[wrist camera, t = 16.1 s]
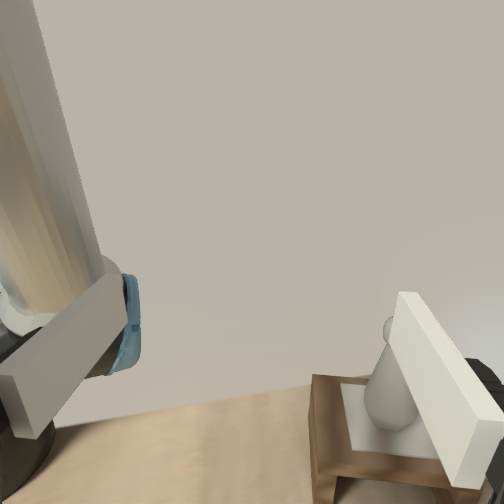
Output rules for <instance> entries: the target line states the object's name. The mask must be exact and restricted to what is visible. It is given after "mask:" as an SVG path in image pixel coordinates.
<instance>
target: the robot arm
mask: <svg viewBox="0 0 504 504" xmlns="http://www.w3.org/2000/svg"><path fill="white" fill-rule="evenodd" d="M0 282H1V284H2V286H3V289H2V291H1V292H0V504H2V500H3V499H5V498H6V497H7V496H9V495H10V494H11V493H13V492H14V491H15V490H16V489H18V488H19V487H20V486H21V485H22V484H23V483H24V482H25V481H26V480H27V479H28V478H29V477H30V476H31V475H32V474H33V473H34V472H35V471H36V470H37V468H38V467H39V466H40V465H41V463H42V462H43V460H44V459H45V457H46V456H47V454H48V452H49V450H50V448H51V446H52V443H53V440H54V435H55V426H54V422H53V417H54V416H55V415H56V414H57V412H58V411H59V410H60V409H61V407H62V406H63V405H64V403H65V402H66V401H67V400H68V398H69V397H70V396H71V394H72V393H73V392H74V391H75V389H76V388H77V387H78V386H79V384H80V383H81V382H82V380H83V379H86V378H91V377H95V376H100V375H104V376H108V375H111V374H112V373H113V372H117V371H120V370H124V369H127V368H130V367H132V366H134V364H136V363H137V361H138V359H139V357H140V351H141V328H140V301H139V290H138V283H137V279H136V277H135V276H133V275H127V274H124V273H123V274H121V272H120V270H119V268H118V267H117V265H116V264H115V263H114V262H113V261H111V260H110V259H108V258H107V257H105V256H103V255H101V253H100V249H99V246H98V242H97V238H96V234H95V231H94V227H93V224H92V220H91V217H90V212H89V208H88V205H87V201H86V197H85V194H84V190H83V186H82V183H81V179H80V175H79V171H78V168H77V164H76V160H75V157H74V153H73V149H72V145H71V142H70V138H69V134H68V131H67V127H66V124H65V120H64V116H63V112H62V108H61V105H60V101H59V97H58V94H57V90H56V87H55V83H54V79H53V75H52V71H51V68H50V64H49V60H48V56H47V53H46V49H45V46H44V42H43V38H42V34H41V31H40V27H39V23H38V19H37V16H36V12H35V8H34V5H33V1H32V0H0ZM389 344H390V346H391V348H392V351H393V353H394V355H395V357H396V360H397V362H398V364H399V367H400V369H401V371H402V373H403V376H404V378H405V380H406V383H407V385H408V387H409V389H410V392H411V394H412V396H413V399H414V401H415V403H416V405H417V408H418V410H419V412H420V415H421V417H422V419H423V421H424V424H425V426H426V428H427V431H428V433H429V435H430V437H431V440H432V442H433V444H434V447H435V449H436V451H437V453H438V456H439V458H440V460H441V463H442V465H443V467H444V469H445V472H446V474H447V476H448V479H449V481H450V483H451V485H452V487H460V488H469V489H478V490H480V488H481V486H482V484H483V481H484V479H485V477H487V479H488V481H489V483H490V484H491V486H492V488H493V490H494V492H493V494H492V496H491V498H490V500H489V502H488V504H504V385H502V384H501V381H500V380H499V379H498V377H497V376H496V375H495V374H494V372H493V371H492V370H491V369H490V368H488V367H487V366H486V365H484V364H483V363H482V362H480V361H479V360H478V359H470V358H464V357H463V356H462V354H461V353H460V352H459V350H458V349H457V347H456V346H455V345H454V343H453V342H452V341H451V339H450V338H449V336H448V335H447V334H446V332H445V331H444V329H443V328H442V327H441V325H440V324H439V322H438V321H437V320H436V318H435V317H434V316H433V314H432V313H431V311H430V310H429V309H428V307H427V306H426V304H425V303H424V302H423V300H422V299H421V297H420V296H419V295H418V293H417V292H401V291H399V294H398V299H397V304H396V308H395V313H394V317H393V322H392V327H391V331H390V336H389Z"/></svg>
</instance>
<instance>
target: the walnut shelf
mask: <svg viewBox="0 0 504 504" xmlns="http://www.w3.org/2000/svg"><path fill="white" fill-rule="evenodd" d="M368 381H369V379H362V378H351V377H339V376H327V375H316V374H313V375H312V384H311V394H310V404H309V414H308V421H309V440H310V458H311V477H312V495H313V504H333V499H334V493H335V487H336V481H337V476H345V477H353V478H361V479H370V480H378V481H387V482H395V483H404V484H412V485H420V486H429V487H431V488H432V490H433V493H434V496H435V498H436V501H437V504H477V502H478V500H479V498H480V495H481V493H482V491H483V489H484V486H485V484H486V482H487V478H486V477H485V479H484V481H483V484H482V486H481V488H480V490H478V489H469V488H460V487H452V485H451V483H450V481H449V479H448V476H447V474H446V472H445V469H444V467H443V465H442V463H441V460H440V458H439V456H438V453H437V451H436V449H435V447H434V444H433V442H432V440H431V437H430V435H429V433H428V431H427V428H426V426H425V424H424V421H423V419H422V417H421V415H420V412H419V414H418V416H417V417H416V419H415V420H414V422H413V423H412V424H410V425H408V426H406V427H404V428H402V429H401V430H399V431H398V432H397V433H394V432H391V431H387V430H384V429H380V428H378V427H377V425H376V424H375V423H374V422H373V420H372V419H371V418H370V417H369V415H368V413H367V410H366V407H365V404H364V389H365V387H366V385H367V383H368Z"/></svg>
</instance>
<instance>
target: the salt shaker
mask: <svg viewBox="0 0 504 504" xmlns="http://www.w3.org/2000/svg"><path fill="white" fill-rule="evenodd" d="M393 317H394V316H392V317H390V318H389V319H388V320H386V322H385V324H384V328H383V337H384V340H385V341H386V343H387V344H386V347H385V349H384V351H383V353H382V355H381V357H380V359H379V361H378V363H377V365H376V367H375V369H374V371H373V373H372V375H371V377H370V379H369V381H368V383H367V385H366V387H365V389H364V404H365V407H366V410H367V413H368V415H369V417H370V418H371V419H372V420H373V422H374V423H375V424H376V425H377V427H378V428H380V429H384V430H387V431H391V432H394V433H397V432H398V431H399V430H401V429H402V428H404V427H406V426H408V425H410V424H412V423H413V422H414V420H415V419H416V417H417V416H418V414H419V410H418V408H417V405H416V403H415V401H414V399H413V396H412V394H411V392H410V389H409V387H408V385H407V383H406V380H405V378H404V376H403V373H402V371H401V369H400V367H399V364H398V362H397V360H396V357H395V355H394V353H393V351H392V348H391V346H390V344H389V336H390V331H391V327H392V322H393Z"/></svg>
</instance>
